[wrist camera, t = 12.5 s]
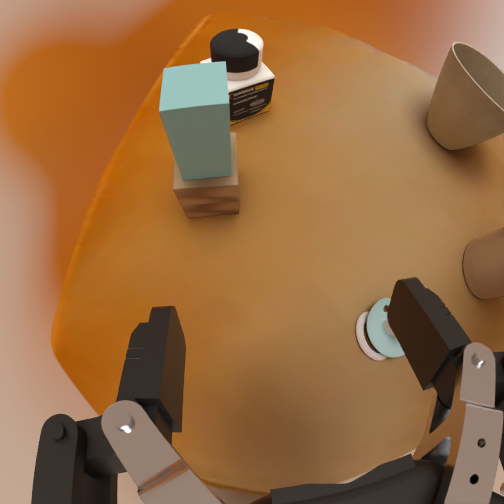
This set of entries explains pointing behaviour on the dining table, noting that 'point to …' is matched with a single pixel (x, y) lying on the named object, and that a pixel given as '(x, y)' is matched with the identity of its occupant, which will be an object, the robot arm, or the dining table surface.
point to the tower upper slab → (209, 184)
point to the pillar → (198, 119)
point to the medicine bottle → (243, 72)
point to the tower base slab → (211, 209)
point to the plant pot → (467, 99)
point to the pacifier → (378, 333)
